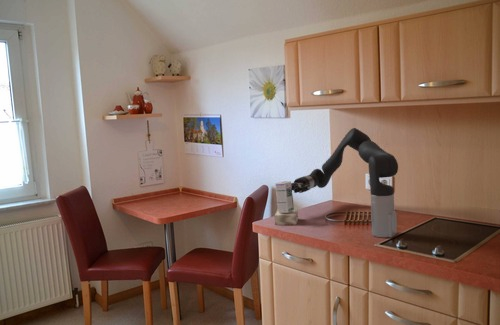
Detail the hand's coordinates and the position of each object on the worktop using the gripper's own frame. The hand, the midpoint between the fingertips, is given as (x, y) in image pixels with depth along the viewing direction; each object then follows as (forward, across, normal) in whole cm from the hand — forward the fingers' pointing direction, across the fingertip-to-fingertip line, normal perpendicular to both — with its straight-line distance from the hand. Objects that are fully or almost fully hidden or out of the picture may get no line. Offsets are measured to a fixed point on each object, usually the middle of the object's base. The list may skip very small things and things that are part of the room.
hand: (287, 190), depth 214 cm
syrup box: (+2, 0, +10) cm, 11 cm away
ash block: (+2, 0, +16) cm, 16 cm away
